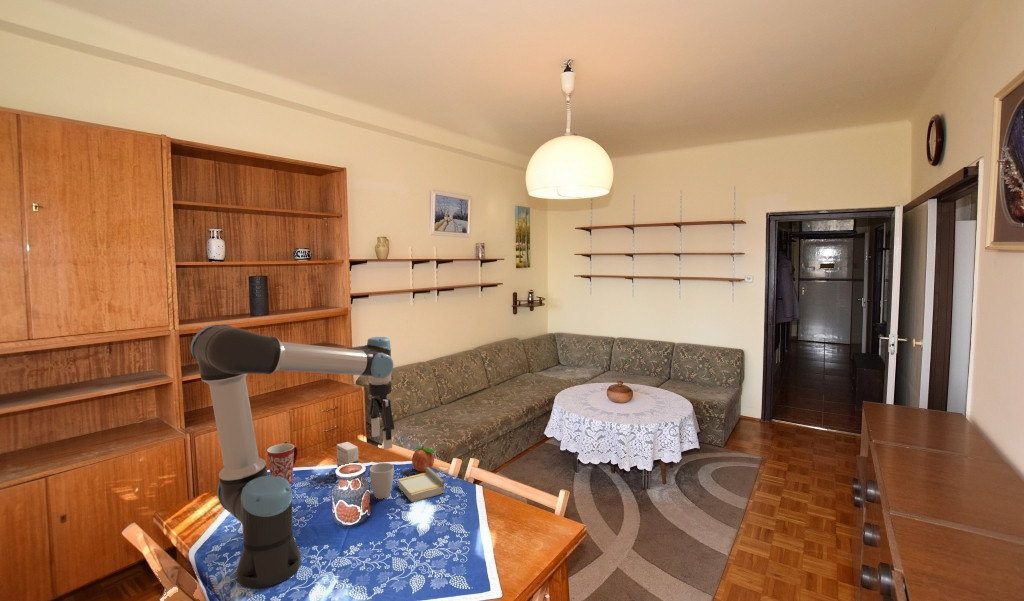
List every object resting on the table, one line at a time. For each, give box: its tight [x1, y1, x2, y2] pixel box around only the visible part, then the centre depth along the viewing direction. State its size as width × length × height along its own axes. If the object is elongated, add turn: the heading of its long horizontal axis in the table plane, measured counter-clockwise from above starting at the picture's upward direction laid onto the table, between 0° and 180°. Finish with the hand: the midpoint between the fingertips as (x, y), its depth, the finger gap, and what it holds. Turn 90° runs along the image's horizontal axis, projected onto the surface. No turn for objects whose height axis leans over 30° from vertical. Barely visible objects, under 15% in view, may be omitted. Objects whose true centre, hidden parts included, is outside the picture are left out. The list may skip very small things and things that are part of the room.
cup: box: [369, 462, 395, 500], centre depth 169 cm, size 8×8×10 cm
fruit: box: [411, 444, 435, 473], centre depth 190 cm, size 9×10×10 cm
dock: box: [397, 467, 445, 503], centre depth 174 cm, size 14×12×4 cm
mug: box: [266, 443, 299, 485], centre depth 180 cm, size 13×9×14 cm
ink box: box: [336, 441, 360, 467], centre depth 185 cm, size 9×5×12 cm, turn 47°
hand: (381, 442), depth 168 cm, fingers open, 13 cm apart
